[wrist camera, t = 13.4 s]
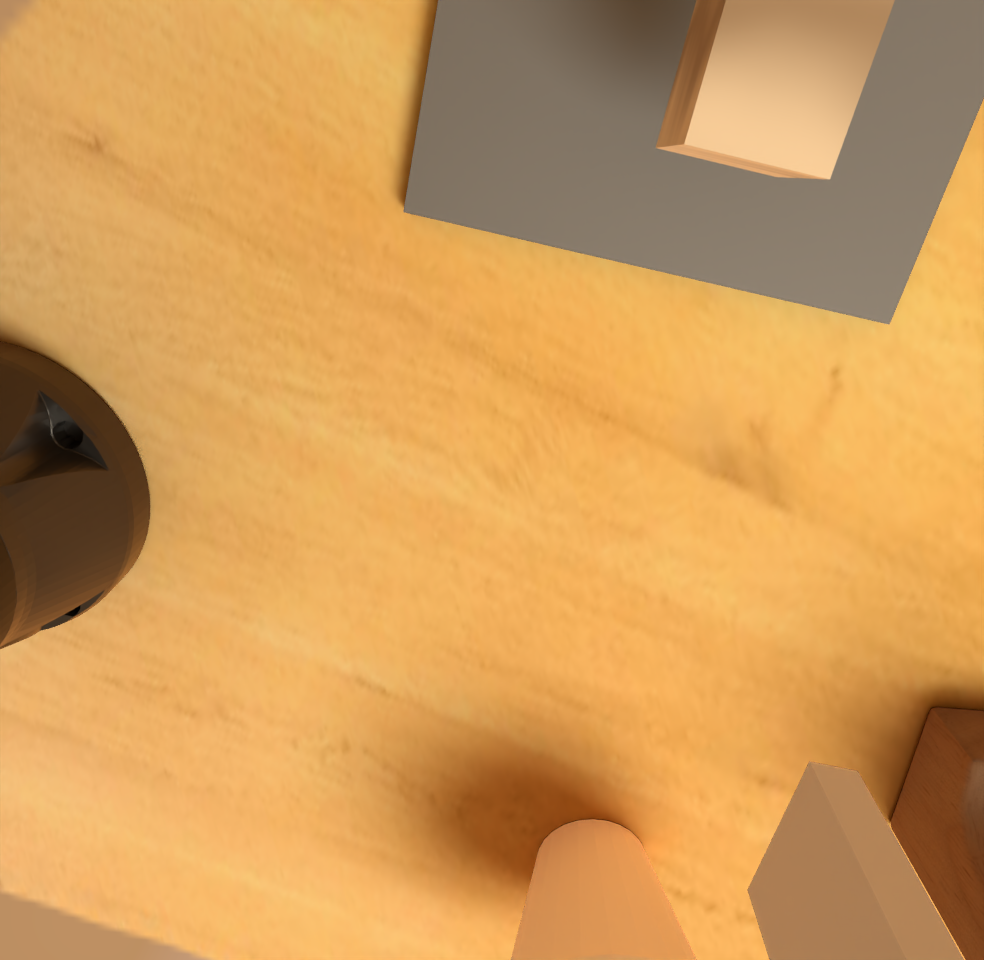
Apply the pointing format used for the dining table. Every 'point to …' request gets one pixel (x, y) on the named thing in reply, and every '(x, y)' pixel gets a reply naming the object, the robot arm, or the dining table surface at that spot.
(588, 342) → the dining table surface
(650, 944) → the cup
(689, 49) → the beech bar
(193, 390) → the dining table surface
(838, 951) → the robot arm
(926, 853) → the wooden block
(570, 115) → the slate board
